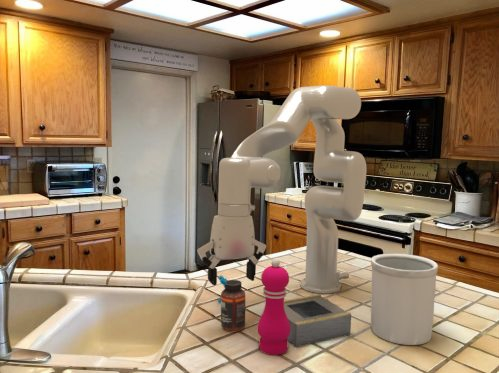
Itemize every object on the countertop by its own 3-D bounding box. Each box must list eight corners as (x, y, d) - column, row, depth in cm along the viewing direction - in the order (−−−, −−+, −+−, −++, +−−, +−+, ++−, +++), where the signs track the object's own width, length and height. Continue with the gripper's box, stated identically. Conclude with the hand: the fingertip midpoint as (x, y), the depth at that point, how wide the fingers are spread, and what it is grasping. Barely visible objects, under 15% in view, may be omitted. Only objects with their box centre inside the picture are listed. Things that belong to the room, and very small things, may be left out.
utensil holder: (355, 324, 104) (358, 255, 102) (401, 315, 110) (405, 250, 108) (397, 352, 91) (402, 274, 89) (447, 340, 97) (453, 266, 95)
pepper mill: (255, 340, 95) (257, 254, 93) (286, 339, 95) (289, 254, 93) (258, 356, 88) (260, 264, 85) (292, 355, 88) (295, 264, 86)
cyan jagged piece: (247, 303, 112) (221, 277, 111) (232, 319, 111) (205, 293, 111) (245, 294, 123) (221, 270, 122) (231, 308, 122) (207, 284, 122)
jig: (318, 313, 110) (319, 294, 109) (350, 334, 98) (351, 313, 98) (268, 323, 104) (269, 302, 103) (296, 347, 92) (296, 324, 91)
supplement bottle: (248, 324, 103) (249, 279, 102) (240, 334, 97) (240, 288, 96) (226, 320, 105) (226, 276, 104) (216, 330, 99) (217, 284, 98)
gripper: (259, 207, 105) (257, 273, 107) (193, 209, 97) (192, 280, 99) (273, 211, 98) (271, 282, 100) (204, 214, 91) (202, 290, 92)
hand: (231, 281), depth 99 cm, fingers open, 9 cm apart
